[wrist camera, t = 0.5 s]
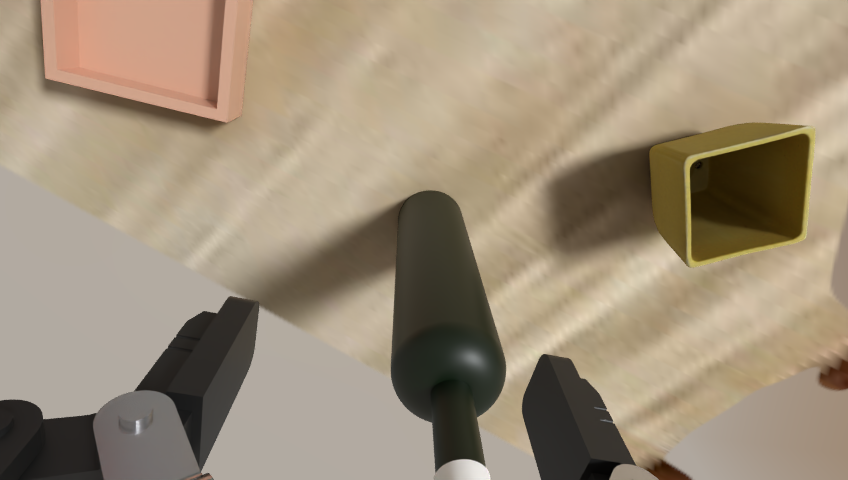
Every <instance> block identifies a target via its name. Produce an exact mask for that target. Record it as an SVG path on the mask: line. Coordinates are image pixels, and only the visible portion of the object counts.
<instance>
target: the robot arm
mask: <svg viewBox="0 0 848 480" xmlns="http://www.w3.org/2000/svg"><path fill="white" fill-rule="evenodd" d="M258 312H259V302H258V301H254V300H248V299H243V298H237V297H232V296H230V297H228V299H227V300H226V301H225V303H224V304H223V306H222V308H221V309H220V311H219V312H218V313H211V312H206V311H203V312H202V313H200V314H198V315H197V316H195V317H193V318H192V319H190V320H188V321H187V322H186V323H185V325H184V326H183V327H182V328H181V330H180V331H179V332H178V334H177V336H176V338H174V339H173V341H172V342H171V343H170V345H169V346H168V349H166V350H165V351H164V352H163V354H162V355H161V356H160V358H159V359H158V360H157V362H156V363H155V364H154V366H153V367H152V368H151V370H150V371H149V372H148V374H147V375H146V376H145V378H144V379H143V380H142V381H141V383H140V384H139V385H138V387H137V388H136V389H135V391H134V392H130V393H126V394H123V395H121V396H118V397H116V398H114V399H112V400H111V401H109V402H108V403H106V404H105V405H104V406H103V407H102V408H101V409H100V410H99V411H98V413H95V414H91V415H84V416H76V417H65V418H54V419H44V420H43V415H42V412H41V410H40V408H39V407H37V406H36V405H35V404H33V403H31V402H28V401H23V400H2V401H0V480H214V479H213V478H212V476H211V475H210V474H209V473H207V474H204V475H202V473H201V470H202V468H203V466H204V464H205V462H206V460H207V458H208V455H209V453H210V451H211V449H212V447H213V445H214V443H215V441H216V438H217V436H218V434H219V432H220V430H221V428H222V426H223V423H224V421H225V419H226V417H227V415H228V413H229V411H230V409H231V407H232V404H233V402H234V400H235V398H236V396H237V394H238V391H239V389H240V387H241V385H242V383H243V381H244V379H245V377H246V374H247V372H248V370H249V367H250V364H251V361H252V358H253V354H254V348H255V340H256V331H257V321H258ZM606 409H607V408H606V406H605V404H604V402H603V400H602V398H601V396H600V394H599V393H598V392H597V391H596V390H595V389H594V388H593V387H592V386H591V385H590V383H589V382H588V381H587V380H586V379H581V378H580V377H579V374H578V372H577V370H576V368H575V366H574V364H573V362H572V361H571V359H569V358H564V357H558V356H553V355H547V354H543V355H542V356H541V357H540V359H539V361H538V363H537V365H536V368H535V370H534V372H533V375H532V377H531V379H530V382H529V384H528V386H527V389H526V391H525V394H524V397H523V403H522V414H523V418H524V422H525V425H526V429H527V432H528V436H529V439H530V443H531V446H532V449H533V453H534V456H535V460H536V463H537V467H538V470H539V473H540V477H541V480H658V479H657V478H656V477H655V476H654V475H652V474H651V473H649V472H648V471H646V470H644V469H642V468H640V467H638V466H636V464H635V462H634V461H633V459H632V457H631V455H630V453H629V451H628V449H627V447H626V445H625V443H624V441H623V439H622V437H621V435H620V433H619V431H618V429H617V428H616V426H615V424H613V420H612V418H611V416H610V414H609V412H608V411H606Z"/></svg>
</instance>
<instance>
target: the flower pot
mask: <svg viewBox="0 0 848 480" xmlns="http://www.w3.org/2000/svg"><path fill="white" fill-rule="evenodd" d="M814 147H815V128H814V127H813V126H802V125H789V124H773V123H744V124H737V125H732V126H728V127H724V128H720V129H716V130H713V131H709V132H705V133H701V134H698V135H694V136H690V137H686V138H682V139H678V140H674V141H670V142H665V143H661V144H657V145H655V146H653V147H652V148H651V149H650V152H649V159H650V175H651V195H652V210H653V216H654V221H655V224H656V227H657V229H658V231H659V233H660V234H661V236H662V237H663V238H664V240H665V241H666V242H667V243H668V244H669V246H670V247H671V248H672V249H673V250H674V251H675V252H676V254H677V255H678V256H679V257H680V258H681V259H682V260H683V261H684V263H685V264H686V265H687V266H688V267H690V268H694V267H699V266H703V265H707V264H711V263H714V262H718V261H722V260H726V259H730V258H733V257H737V256H741V255H745V254H749V253H754V252H758V251H763V250H768V249H773V248H777V247H782V246H787V245H791V244H794V243H797V242H800V241H802V240H804V239H805V238H806V235H807V227H808V215H809V199H810V189H811V178H812V166H813V159H814ZM698 162H701V167H700V168H696V167H695V166H696V164H697V163H698Z"/></svg>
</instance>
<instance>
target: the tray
mask: <svg viewBox="0 0 848 480" xmlns="http://www.w3.org/2000/svg"><path fill="white" fill-rule="evenodd" d="M252 6H253V0H41V16H42V32H43V48H44V64H45V78H46V79H50V80H54V81H58V82H62V83H66V84H71V85H75V86H79V87H83V88H87V89H91V90H95V91H99V92H103V93H107V94H112V95H116V96H120V97H124V98H128V99H132V100H136V101H140V102H144V103H148V104H153V105H157V106H161V107H165V108H169V109H173V110H177V111H181V112H185V113H189V114H194V115H198V116H202V117H206V118H210V119H214V120H218V121H222V122H226V123H227V122H229V121H231V120H233V119H236V118H238V117H240V116H241V115H242V106H243V96H244V86H245V76H246V66H247V56H248V46H249V36H250V26H251V16H252Z"/></svg>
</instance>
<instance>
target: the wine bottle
mask: <svg viewBox="0 0 848 480" xmlns="http://www.w3.org/2000/svg"><path fill="white" fill-rule="evenodd" d="M505 377H506V362H505V357H504V353H503V350H502V347H501V343H500V340H499V337H498V333H497V330H496V327H495V323H494V320H493V317H492V313H491V310H490V307H489V303H488V300H487V297H486V293H485V290H484V287H483V283H482V280H481V277H480V273H479V270H478V267H477V263H476V260H475V257H474V253H473V250H472V247H471V243H470V240H469V237H468V233H467V230H466V227H465V223H464V220H463V217H462V213H461V210H460V208H459V206H458V204H457V203H456V202H455V201H454V200H453V199H452V198H451V197H450V196H448V195H447V194H445V193H442V192H439V191H423V192H419V193H417V194H415V195H413V196H411V197H410V198H409V199H408V200H407V201H406V202H405V203H404V204H403V206H402V208H401V210H400V213H399V217H398V234H397V255H396V275H395V295H394V315H393V335H392V355H391V379H392V383H393V386H394V389H395V392H396V394H397V396H398V398H399V399H400V401H401V402H402V403H403V405H404V406H405V407H406V408H407V409H408V410H409V411H410V412H412V413H413V414H415V415H416V416H418V417H419V418H421V419H424V420H426V421H429V422H432V425H433V441H434V457H435V472H436V474H435V476H434V480H491V479H490V474H489V472H488V470H487V469H486V466H485V460H484V454H483V449H482V443H481V438H480V432H479V427H478V421H477V417H478V416H480V415H482V414H483V413H484V412H486V411H487V410H488V409H489V408H490V407H491V406H492V405H493V404H494V403H495V401H496V400H497V398H498V397H499V395H500V393H501V391H502V388H503V386H504V382H505Z"/></svg>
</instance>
